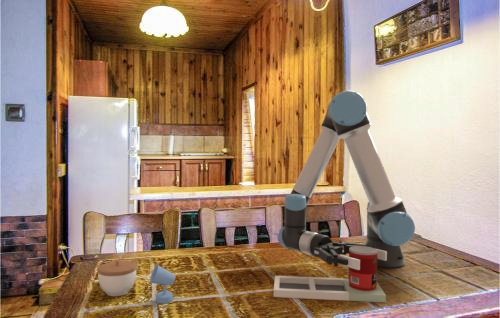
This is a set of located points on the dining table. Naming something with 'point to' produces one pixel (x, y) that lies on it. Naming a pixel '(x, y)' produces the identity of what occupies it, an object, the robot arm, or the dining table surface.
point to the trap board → (324, 289)
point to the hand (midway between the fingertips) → (373, 260)
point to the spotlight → (163, 278)
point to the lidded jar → (117, 277)
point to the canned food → (363, 268)
